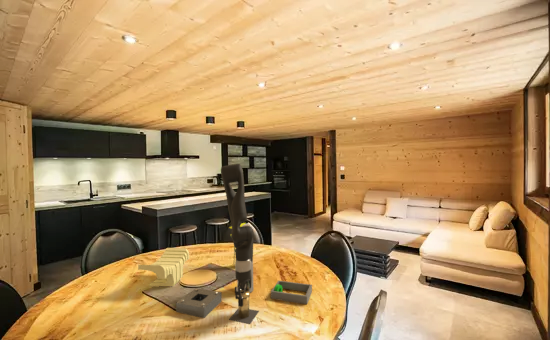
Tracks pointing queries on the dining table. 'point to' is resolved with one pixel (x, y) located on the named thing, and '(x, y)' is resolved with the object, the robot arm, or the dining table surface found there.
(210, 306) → the housing
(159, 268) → the slatted curved stool
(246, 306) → the brass capped cylinder
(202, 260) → the dining table surface
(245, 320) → the mat
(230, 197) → the robot arm
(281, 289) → the mechanical part
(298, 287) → the parts tray
